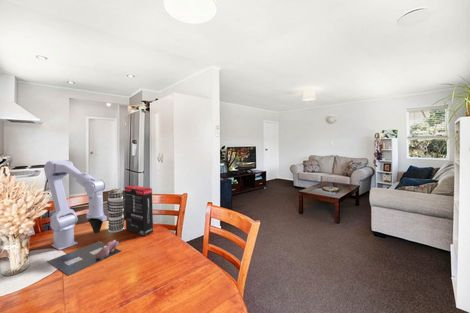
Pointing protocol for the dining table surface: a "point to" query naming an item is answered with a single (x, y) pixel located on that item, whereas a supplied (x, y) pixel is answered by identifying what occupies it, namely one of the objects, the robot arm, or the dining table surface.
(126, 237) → the dining table surface
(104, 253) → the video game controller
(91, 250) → the panel
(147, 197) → the graphics card box
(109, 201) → the decorative candle
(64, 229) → the robot arm
